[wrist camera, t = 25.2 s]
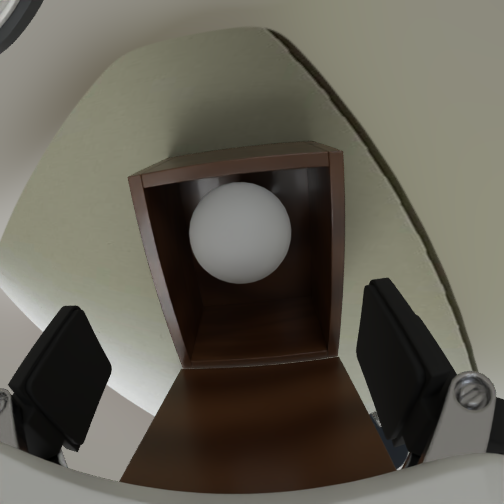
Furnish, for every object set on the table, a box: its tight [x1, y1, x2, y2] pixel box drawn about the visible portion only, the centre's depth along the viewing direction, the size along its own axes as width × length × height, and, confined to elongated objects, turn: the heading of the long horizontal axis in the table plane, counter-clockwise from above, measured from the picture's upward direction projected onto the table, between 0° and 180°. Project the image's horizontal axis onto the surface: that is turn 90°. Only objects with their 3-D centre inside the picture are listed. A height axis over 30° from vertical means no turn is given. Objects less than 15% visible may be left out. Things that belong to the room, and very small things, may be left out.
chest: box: [128, 141, 345, 369], centre depth 23 cm, size 16×13×9 cm
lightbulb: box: [189, 182, 291, 284], centre depth 20 cm, size 6×6×11 cm
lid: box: [119, 357, 397, 494], centre depth 14 cm, size 17×13×5 cm
